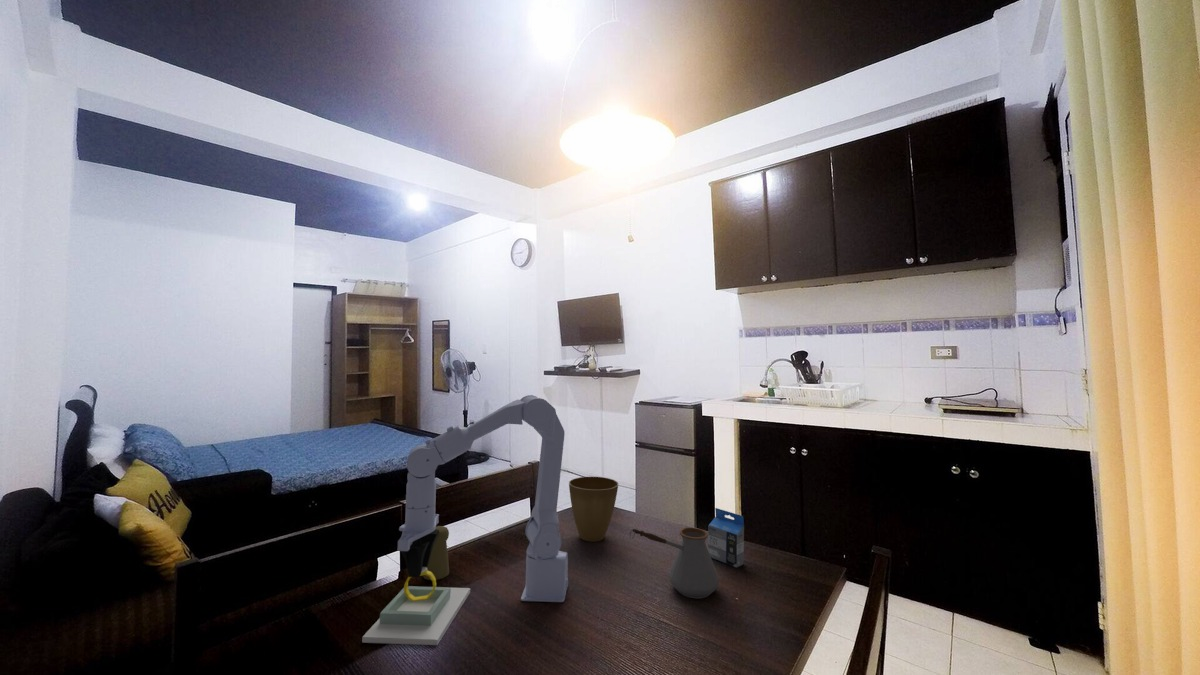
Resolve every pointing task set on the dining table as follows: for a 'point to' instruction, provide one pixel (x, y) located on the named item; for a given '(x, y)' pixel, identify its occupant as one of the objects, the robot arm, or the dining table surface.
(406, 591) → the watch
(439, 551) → the olive pawn shaped peg
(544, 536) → the robot arm
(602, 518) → the plant pot
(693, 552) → the coffee pot
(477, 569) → the dining table surface
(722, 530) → the label tape box
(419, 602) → the pocket plate
